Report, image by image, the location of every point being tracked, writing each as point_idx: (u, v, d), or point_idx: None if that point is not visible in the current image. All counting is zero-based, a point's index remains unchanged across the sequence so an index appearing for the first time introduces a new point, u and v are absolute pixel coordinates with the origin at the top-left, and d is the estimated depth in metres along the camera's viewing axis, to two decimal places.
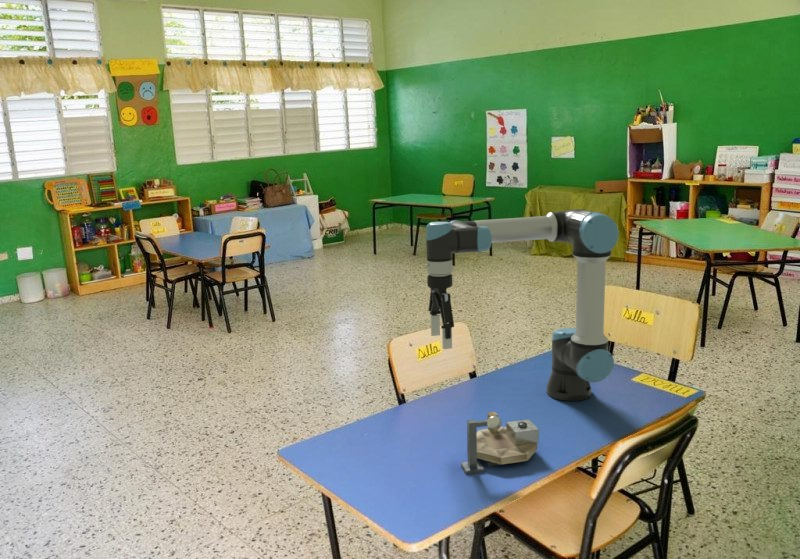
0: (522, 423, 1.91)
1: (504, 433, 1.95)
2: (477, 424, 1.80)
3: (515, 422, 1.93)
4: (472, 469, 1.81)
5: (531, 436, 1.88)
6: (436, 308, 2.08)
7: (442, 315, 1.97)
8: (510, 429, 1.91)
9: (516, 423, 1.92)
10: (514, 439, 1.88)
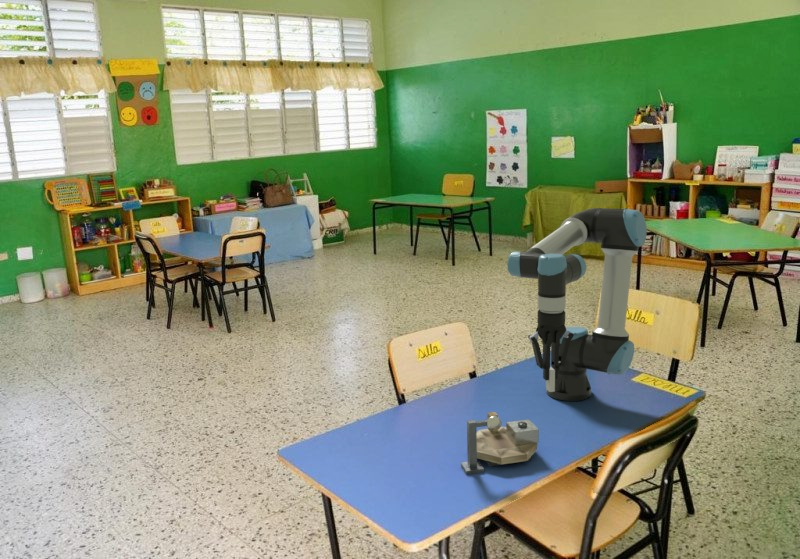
0: (522, 423, 1.91)
1: (504, 433, 1.95)
2: (477, 424, 1.80)
3: (515, 422, 1.93)
4: (472, 469, 1.81)
5: (531, 436, 1.88)
6: (553, 355, 1.88)
7: None
8: (510, 429, 1.91)
9: (516, 423, 1.92)
10: (514, 439, 1.88)
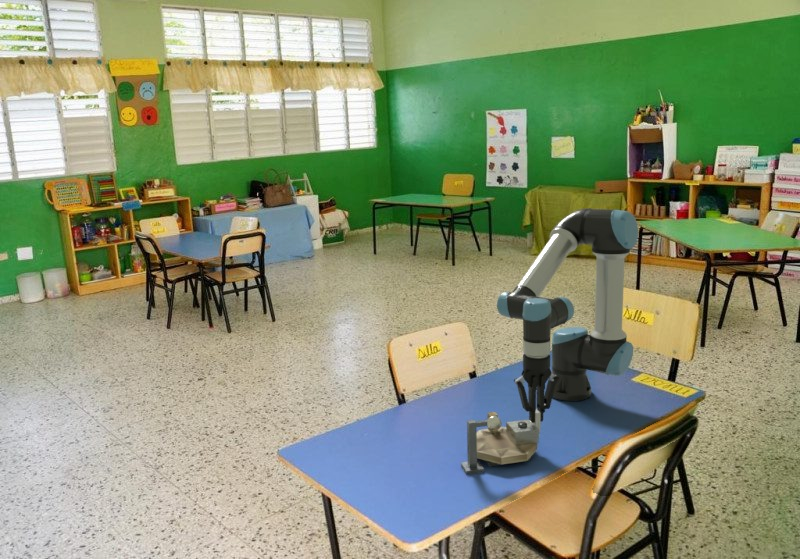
0: (522, 423, 1.91)
1: (504, 433, 1.95)
2: (477, 424, 1.80)
3: (515, 422, 1.93)
4: (472, 469, 1.81)
5: (531, 436, 1.88)
6: (538, 398, 1.90)
7: (528, 397, 1.90)
8: (510, 429, 1.91)
9: (516, 423, 1.92)
10: (514, 439, 1.88)
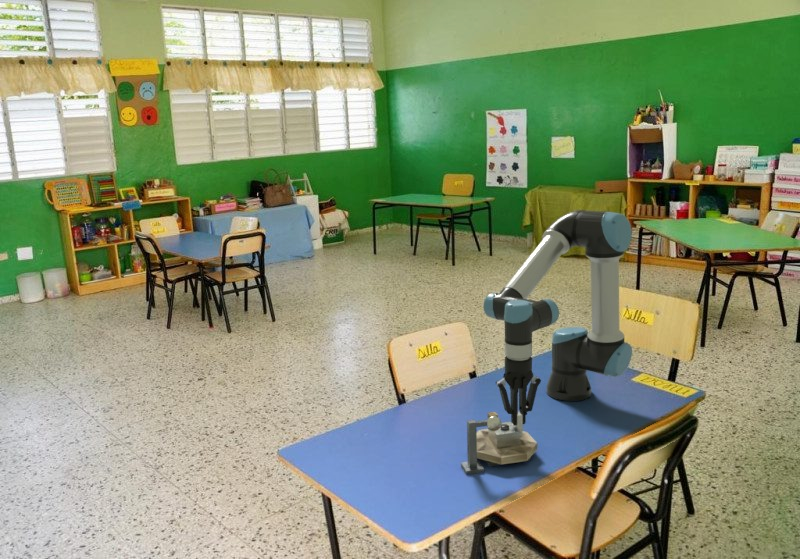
0: (504, 425, 1.90)
1: None
2: (477, 424, 1.80)
3: None
4: (472, 469, 1.81)
5: (513, 439, 1.87)
6: (520, 400, 1.89)
7: None
8: (492, 432, 1.90)
9: None
10: (496, 442, 1.87)
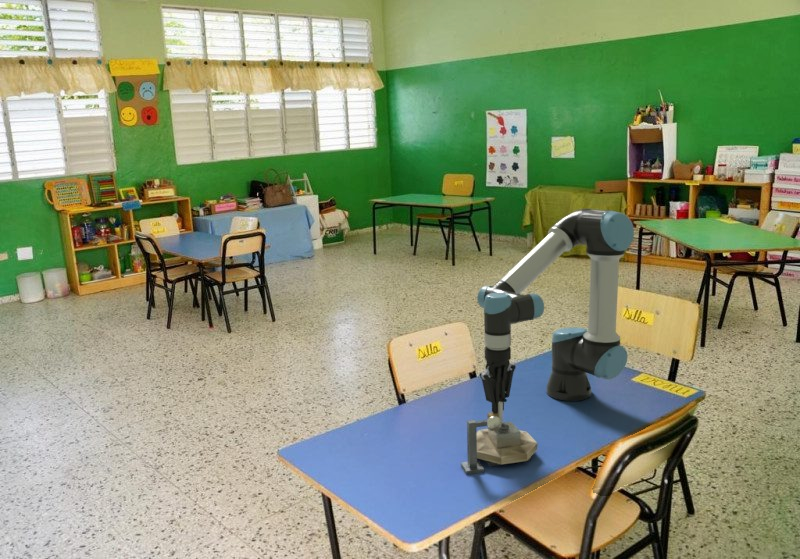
0: (504, 425, 1.90)
1: None
2: (477, 424, 1.80)
3: None
4: (472, 469, 1.81)
5: (513, 439, 1.87)
6: (499, 388, 1.97)
7: None
8: (492, 432, 1.90)
9: None
10: (496, 442, 1.87)
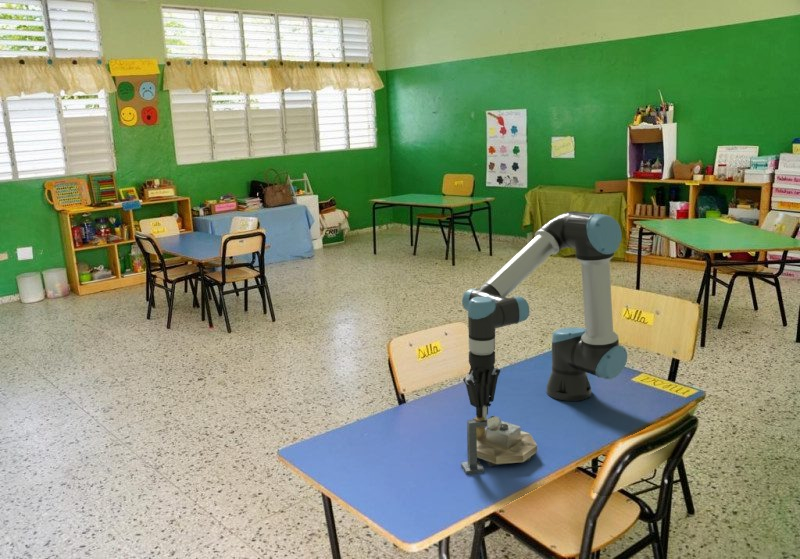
0: (503, 425, 1.90)
1: None
2: (477, 424, 1.80)
3: None
4: (472, 469, 1.81)
5: (516, 435, 1.89)
6: (483, 393, 1.95)
7: None
8: (495, 434, 1.88)
9: None
10: (505, 442, 1.86)
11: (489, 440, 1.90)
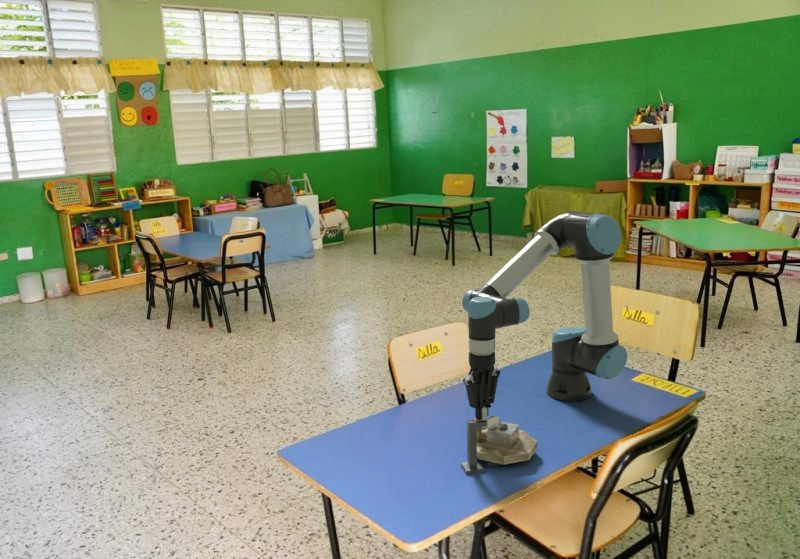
0: (502, 425, 1.90)
1: None
2: (477, 424, 1.80)
3: None
4: (472, 469, 1.81)
5: (516, 434, 1.90)
6: (484, 394, 1.94)
7: None
8: (497, 435, 1.87)
9: None
10: (508, 442, 1.86)
11: (490, 441, 1.89)
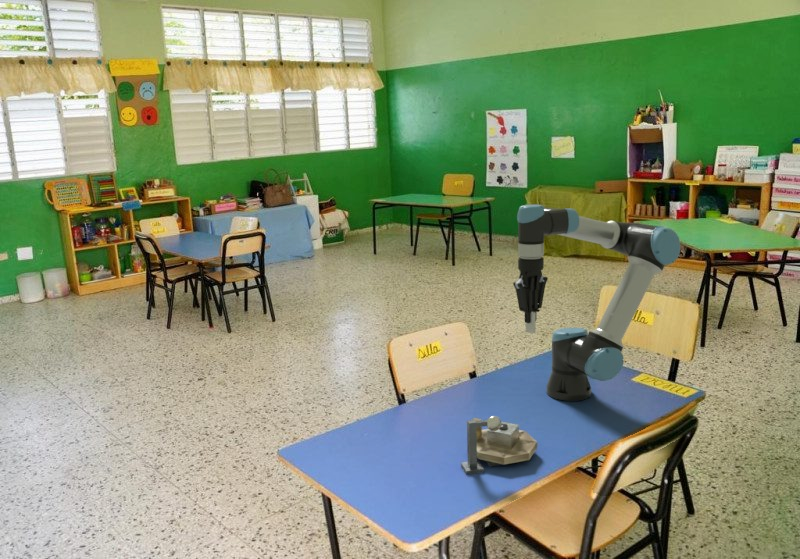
0: (502, 425, 1.90)
1: None
2: (477, 424, 1.80)
3: None
4: (472, 469, 1.81)
5: (516, 434, 1.90)
6: (532, 299, 2.03)
7: None
8: (497, 435, 1.87)
9: None
10: (508, 442, 1.86)
11: (490, 441, 1.89)
